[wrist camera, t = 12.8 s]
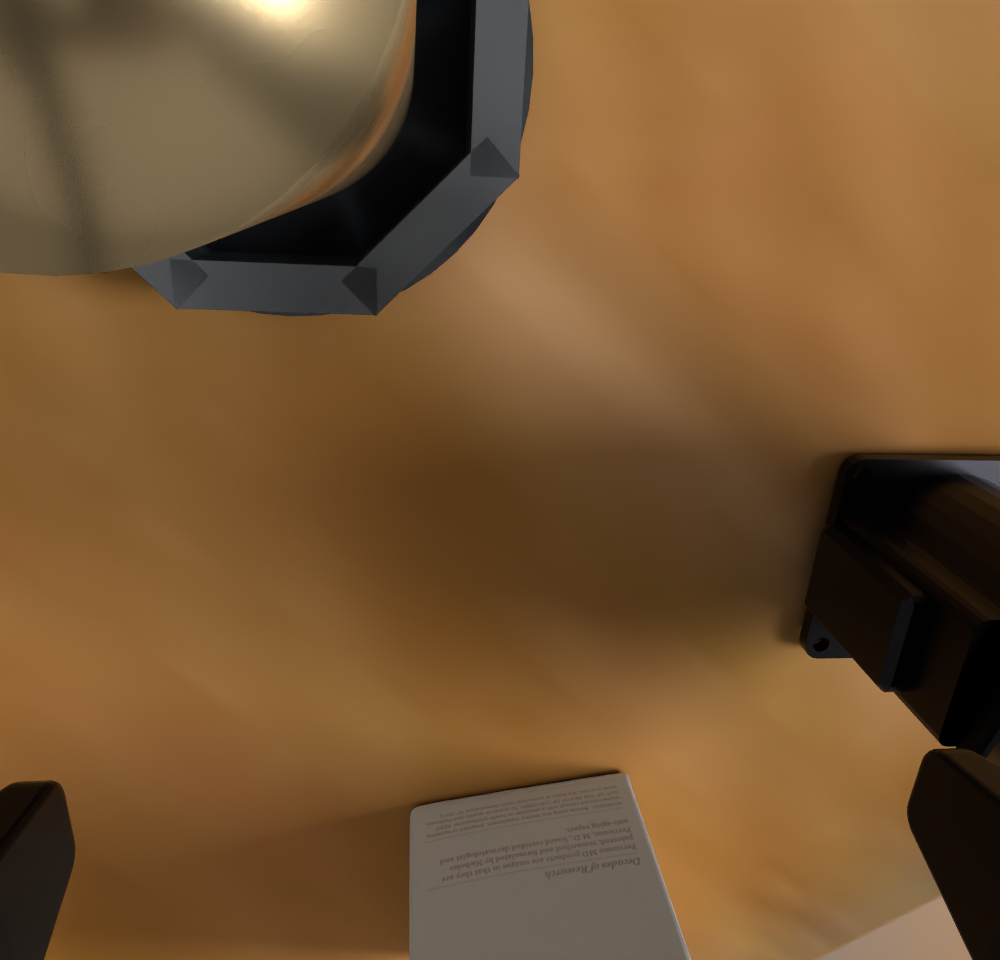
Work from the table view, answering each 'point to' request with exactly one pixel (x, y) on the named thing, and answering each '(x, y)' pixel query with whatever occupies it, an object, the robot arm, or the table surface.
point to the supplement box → (539, 877)
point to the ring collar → (387, 184)
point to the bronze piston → (186, 120)
